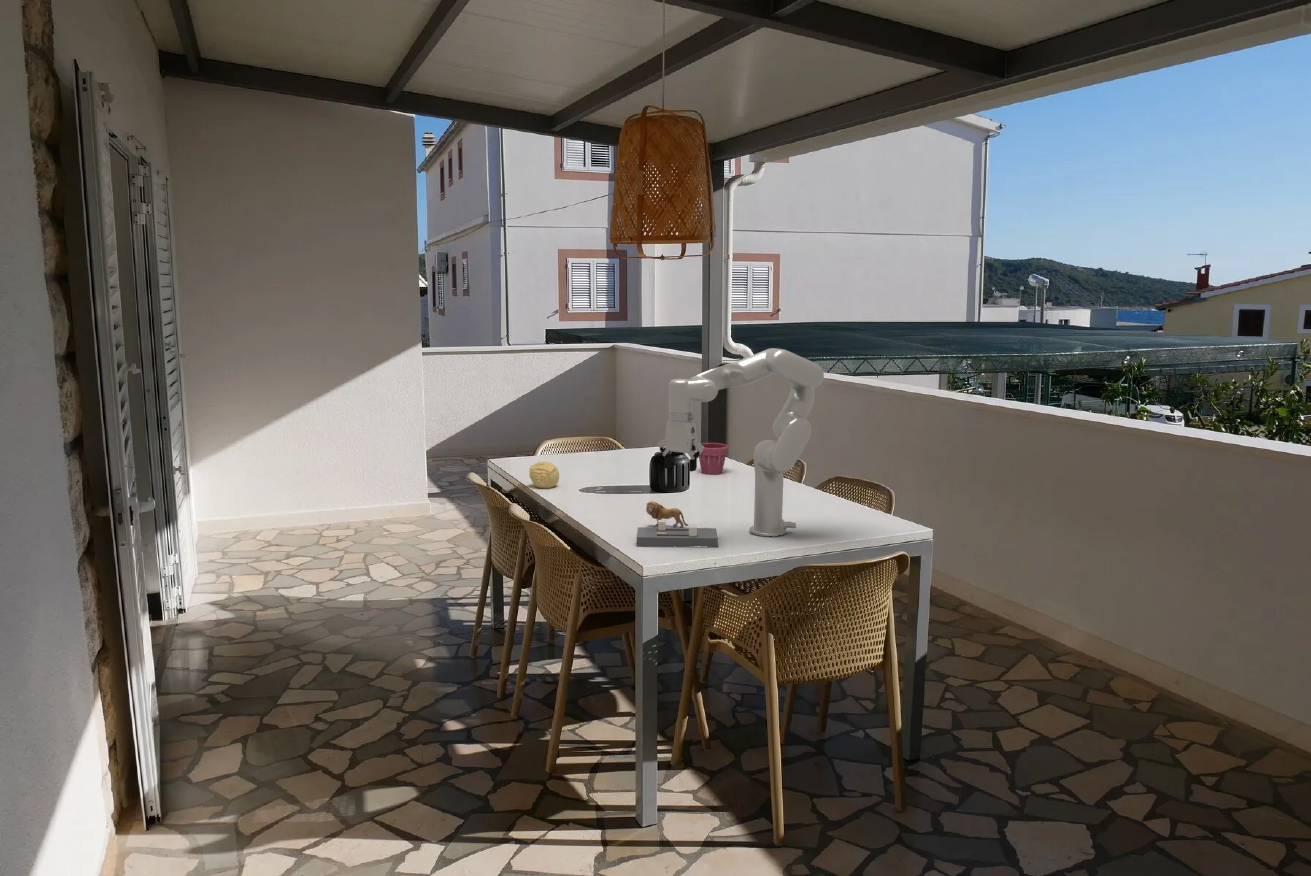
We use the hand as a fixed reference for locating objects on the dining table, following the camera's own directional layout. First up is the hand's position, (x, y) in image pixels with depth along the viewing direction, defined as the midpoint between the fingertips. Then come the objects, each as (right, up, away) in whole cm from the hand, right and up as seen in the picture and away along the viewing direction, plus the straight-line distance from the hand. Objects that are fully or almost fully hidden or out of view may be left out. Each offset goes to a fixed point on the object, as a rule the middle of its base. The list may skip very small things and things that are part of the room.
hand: (680, 469), depth 310 cm
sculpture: (-54, -10, +85) cm, 101 cm away
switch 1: (-6, -21, +3) cm, 22 cm away
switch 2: (+4, -22, -4) cm, 23 cm away
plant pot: (+17, -6, +119) cm, 120 cm away
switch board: (-1, -24, 0) cm, 24 cm away
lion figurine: (-5, -21, +19) cm, 29 cm away
